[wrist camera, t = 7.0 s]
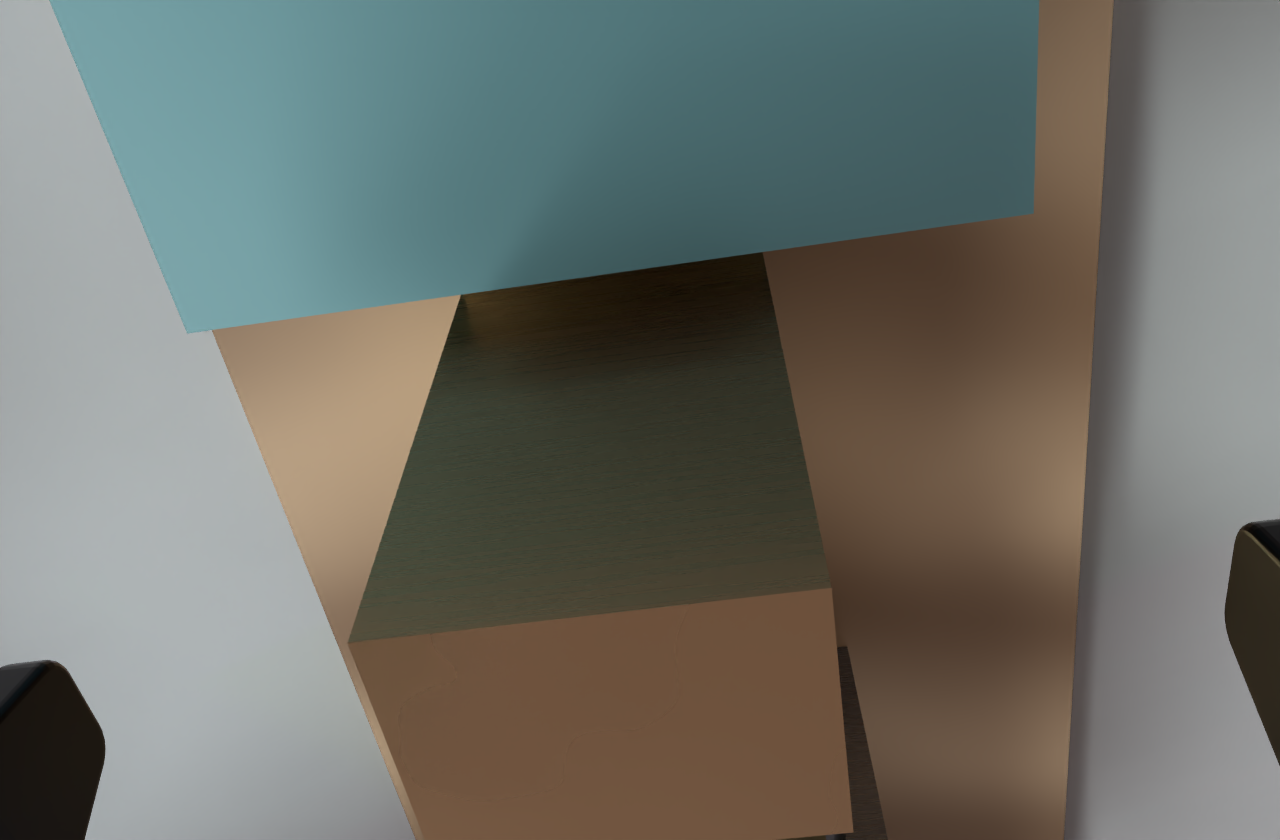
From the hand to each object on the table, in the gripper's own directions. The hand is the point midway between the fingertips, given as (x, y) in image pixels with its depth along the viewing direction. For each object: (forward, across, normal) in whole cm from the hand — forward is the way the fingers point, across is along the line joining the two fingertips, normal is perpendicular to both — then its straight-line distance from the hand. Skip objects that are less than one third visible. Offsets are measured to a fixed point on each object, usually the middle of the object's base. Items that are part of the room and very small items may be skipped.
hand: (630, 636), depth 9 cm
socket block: (+9, 0, -3) cm, 9 cm away
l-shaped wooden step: (+8, 0, +5) cm, 9 cm away
